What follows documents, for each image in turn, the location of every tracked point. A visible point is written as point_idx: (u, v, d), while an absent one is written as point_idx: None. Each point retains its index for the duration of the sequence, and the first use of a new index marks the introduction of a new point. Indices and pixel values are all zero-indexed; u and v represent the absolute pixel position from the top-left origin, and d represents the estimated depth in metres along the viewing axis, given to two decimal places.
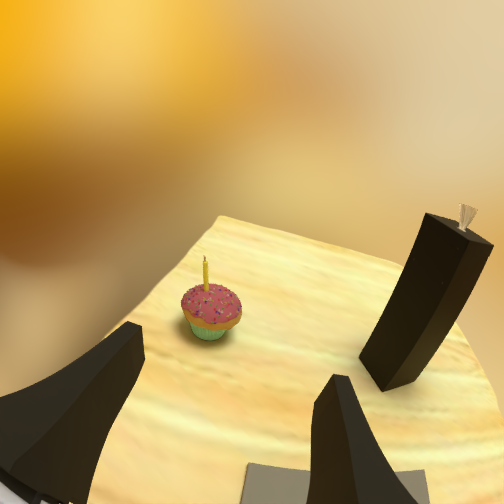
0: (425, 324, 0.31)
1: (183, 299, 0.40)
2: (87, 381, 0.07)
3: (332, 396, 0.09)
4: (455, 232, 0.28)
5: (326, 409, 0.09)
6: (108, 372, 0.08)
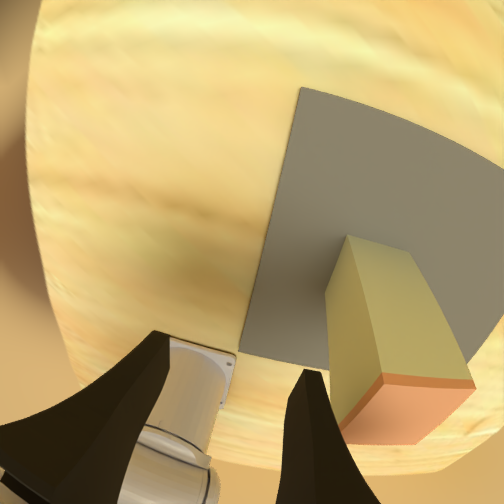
0: None
1: None
2: (119, 395, 0.07)
3: (302, 391, 0.09)
4: None
5: (296, 405, 0.09)
6: (139, 385, 0.08)
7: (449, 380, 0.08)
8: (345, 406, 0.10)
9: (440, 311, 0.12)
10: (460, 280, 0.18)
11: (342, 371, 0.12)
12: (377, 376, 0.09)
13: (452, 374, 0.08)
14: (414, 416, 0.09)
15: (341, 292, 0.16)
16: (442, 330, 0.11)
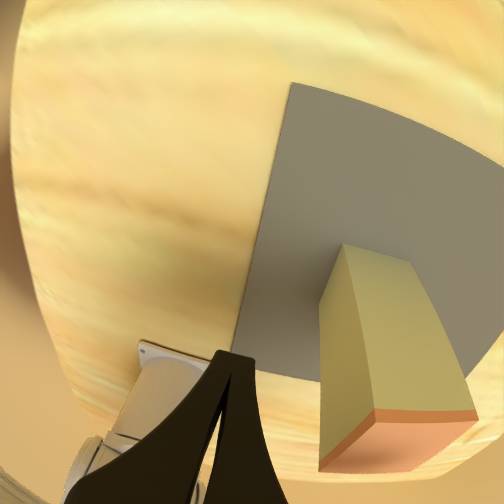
0: None
1: None
2: (201, 424, 0.07)
3: (231, 376, 0.09)
4: None
5: (227, 390, 0.09)
6: (217, 409, 0.08)
7: (450, 412, 0.07)
8: (334, 436, 0.09)
9: (442, 330, 0.11)
10: (463, 291, 0.16)
11: (333, 397, 0.11)
12: (369, 411, 0.07)
13: (453, 405, 0.07)
14: (410, 448, 0.07)
15: (335, 307, 0.14)
16: (445, 352, 0.09)
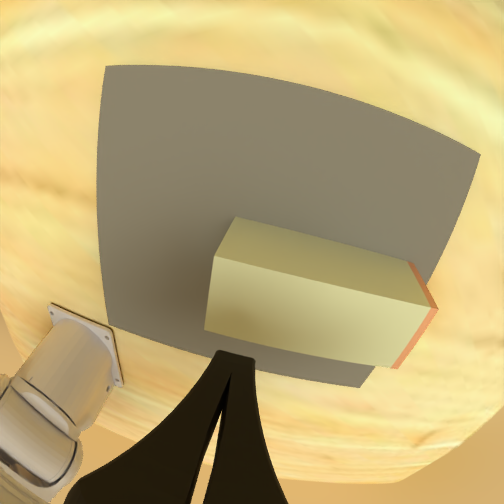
0: None
1: None
2: (201, 424, 0.07)
3: (231, 376, 0.09)
4: None
5: (227, 390, 0.09)
6: (217, 409, 0.08)
7: (415, 274, 0.15)
8: (396, 348, 0.14)
9: (342, 244, 0.16)
10: None
11: (364, 343, 0.14)
12: (427, 311, 0.12)
13: (409, 270, 0.15)
14: None
15: (276, 310, 0.13)
16: (367, 254, 0.16)
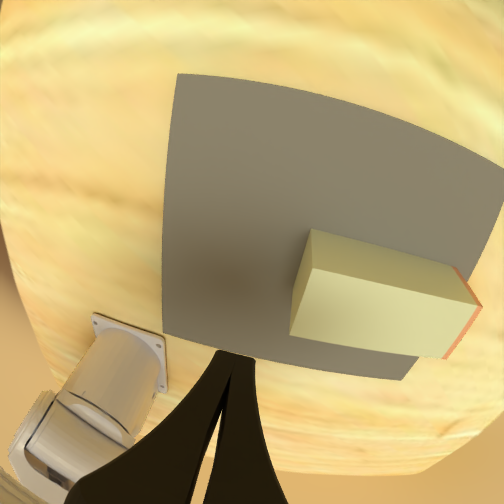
0: None
1: None
2: (201, 424, 0.07)
3: (231, 376, 0.09)
4: None
5: (227, 390, 0.09)
6: (217, 409, 0.08)
7: (460, 277, 0.16)
8: (448, 341, 0.15)
9: (401, 252, 0.17)
10: None
11: (424, 338, 0.15)
12: (474, 309, 0.13)
13: (455, 274, 0.16)
14: None
15: (359, 314, 0.15)
16: (422, 261, 0.17)
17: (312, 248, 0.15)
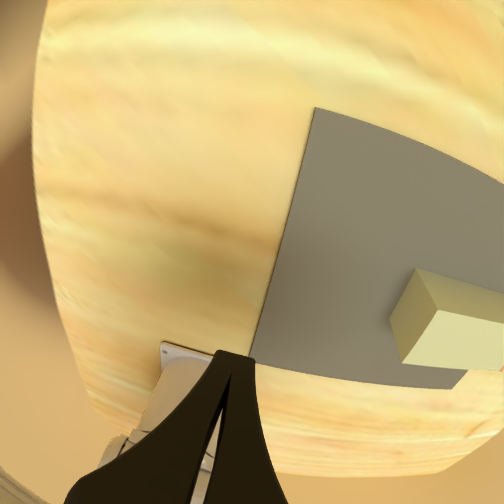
0: None
1: None
2: (201, 424, 0.07)
3: (231, 376, 0.09)
4: None
5: (227, 390, 0.09)
6: (217, 409, 0.08)
7: None
8: None
9: (476, 286, 0.17)
10: None
11: (492, 356, 0.15)
12: None
13: None
14: None
15: (457, 342, 0.15)
16: (490, 293, 0.17)
17: (427, 289, 0.16)
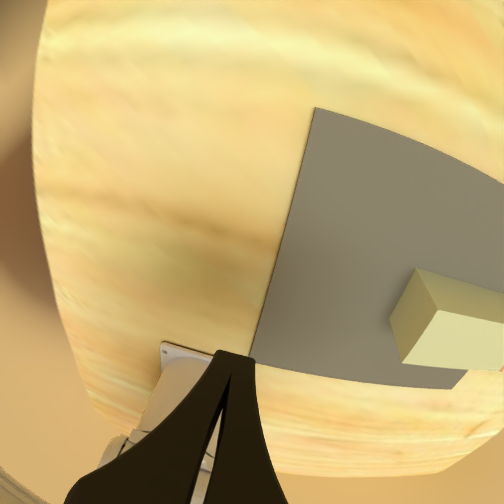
0: None
1: None
2: (201, 424, 0.07)
3: (231, 376, 0.09)
4: None
5: (227, 390, 0.09)
6: (217, 409, 0.08)
7: None
8: None
9: (476, 286, 0.17)
10: None
11: (492, 356, 0.15)
12: None
13: None
14: None
15: (457, 342, 0.15)
16: (490, 293, 0.17)
17: (427, 289, 0.16)
